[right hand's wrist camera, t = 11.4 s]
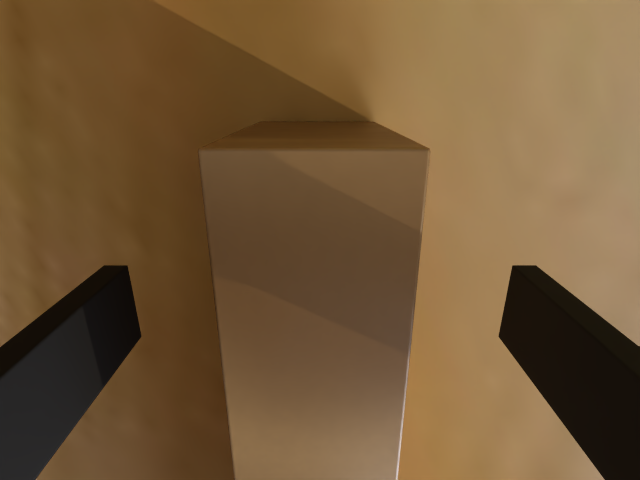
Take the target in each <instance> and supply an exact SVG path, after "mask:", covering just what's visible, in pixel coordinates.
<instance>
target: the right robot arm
mask: <svg viewBox="0 0 640 480" xmlns="http://www.w3.org/2000/svg"><path fill="white" fill-rule="evenodd" d="M140 338H141V332H140V327H139V322H138V317H137V312H136V306H135V301H134V296H133V291H132V286H131V281H130V276H129V271H128V266H103V267H102V268H100V269H99V270H98V271H97V272H95V273H94V274H93V275H91V276H90V277H89V278H88V279H86V280H85V281H84V282H83V283H81V284H80V285H79V286H78V287H76V288H75V289H74V290H72V291H71V292H70V293H69V294H67V295H66V296H65V297H64V298H62V299H61V300H60V301H58V302H57V303H56V304H55V305H53V306H52V307H51V308H50V309H48V310H47V311H46V312H44V313H43V314H42V315H41V316H39V317H38V318H37V319H36V320H34V321H33V322H32V323H30V324H29V325H28V326H27V327H25V328H24V329H23V330H22V331H20V332H19V333H18V334H16V335H15V336H14V337H13V338H11V339H10V340H9V341H8V342H6V343H5V344H4V345H3V346H1V347H0V480H35V479H36V478H37V477H38V475H39V474H40V472H41V471H42V470H43V468H44V467H45V466H46V464H47V463H48V462H49V460H50V459H51V458H52V456H53V455H54V454H55V452H56V451H57V450H58V448H59V447H60V446H61V444H62V443H63V441H64V440H65V439H66V437H67V436H68V435H69V433H70V432H71V431H72V429H73V428H74V427H75V425H76V424H77V423H78V421H79V420H80V419H81V417H82V416H83V415H84V413H85V412H86V410H87V409H88V408H89V406H90V405H91V404H92V402H93V401H94V400H95V398H96V397H97V396H98V394H99V393H100V392H101V390H102V389H103V388H104V386H105V385H106V384H107V382H108V381H109V379H110V378H111V377H112V375H113V374H114V373H115V371H116V370H117V369H118V367H119V366H120V365H121V363H122V362H123V361H124V359H125V358H126V357H127V355H128V354H129V353H130V351H131V350H132V348H133V347H134V346H135V344H136V343H137V342H138V340H139V339H140ZM499 338H500V339H501V340H502V342H503V343H504V344H505V346H506V347H507V348H508V350H509V351H510V353H511V354H512V355H513V357H514V358H515V359H516V361H517V362H518V363H519V365H520V366H521V367H522V369H523V370H524V371H525V373H526V374H527V375H528V377H529V378H530V379H531V381H532V382H533V384H534V385H535V386H536V388H537V389H538V390H539V392H540V393H541V394H542V396H543V397H544V398H545V400H546V401H547V402H548V404H549V405H550V406H551V408H552V409H553V410H554V412H555V413H556V415H557V416H558V417H559V419H560V420H561V421H562V423H563V424H564V425H565V427H566V428H567V429H568V431H569V432H570V433H571V435H572V436H573V437H574V439H575V440H576V441H577V443H578V444H579V446H580V447H581V448H582V450H583V451H584V452H585V454H586V455H587V456H588V458H589V459H590V460H591V462H592V463H593V464H594V466H595V467H596V468H597V470H598V471H599V472H600V474H601V475H602V477H603V478H604V479H605V480H640V346H637V345H636V344H635V343H634V342H632V341H631V340H630V339H629V338H627V337H626V336H625V335H624V334H622V333H621V332H620V331H618V330H617V329H616V328H615V327H613V326H612V325H611V324H610V323H608V322H607V321H606V320H604V319H603V318H602V317H601V316H599V315H598V314H597V313H596V312H594V311H593V310H592V309H590V308H589V307H588V306H587V305H585V304H584V303H583V302H582V301H580V300H579V299H578V298H576V297H575V296H574V295H573V294H571V293H570V292H569V291H568V290H566V289H565V288H564V287H563V286H561V285H560V284H559V283H557V282H556V281H555V280H554V279H552V278H551V277H550V276H549V275H547V274H546V273H545V272H543V271H542V270H541V269H540V268H538V267H537V266H512V271H511V276H510V281H509V286H508V291H507V296H506V301H505V306H504V312H503V317H502V322H501V327H500V332H499Z"/></svg>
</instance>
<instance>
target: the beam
mask: <svg viewBox="0 0 640 480" xmlns="http://www.w3.org/2000/svg"><path fill="white" fill-rule="evenodd" d="M198 156H199V165H200V174H201V183H202V192H203V201H204V210H205V219H206V228H207V237H208V246H209V255H210V264H211V273H212V282H213V291H214V300H215V309H216V318H217V327H218V336H219V345H220V354H221V363H222V372H223V381H224V390H225V399H226V408H227V417H228V426H229V435H230V444H231V453H232V462H233V471H234V480H397V479H398V469H399V459H400V450H401V440H402V430H403V420H404V410H405V400H406V390H407V380H408V370H409V360H410V350H411V340H412V330H413V320H414V310H415V300H416V290H417V280H418V270H419V260H420V250H421V240H422V230H423V220H424V210H425V200H426V190H427V180H428V170H429V160H430V149H429V148H427V147H425V146H423V145H421V144H419V143H417V142H415V141H413V140H411V139H409V138H407V137H404V136H402V135H400V134H398V133H396V132H394V131H392V130H390V129H388V128H386V127H384V126H382V125H380V124H378V123H376V122H259V123H257V124H254V125H252V126H250V127H248V128H245V129H243V130H241V131H238V132H236V133H234V134H231V135H229V136H227V137H224V138H222V139H220V140H217V141H215V142H213V143H211V144H208V145H206V146H204V147H201V148H199V150H198Z"/></svg>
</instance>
